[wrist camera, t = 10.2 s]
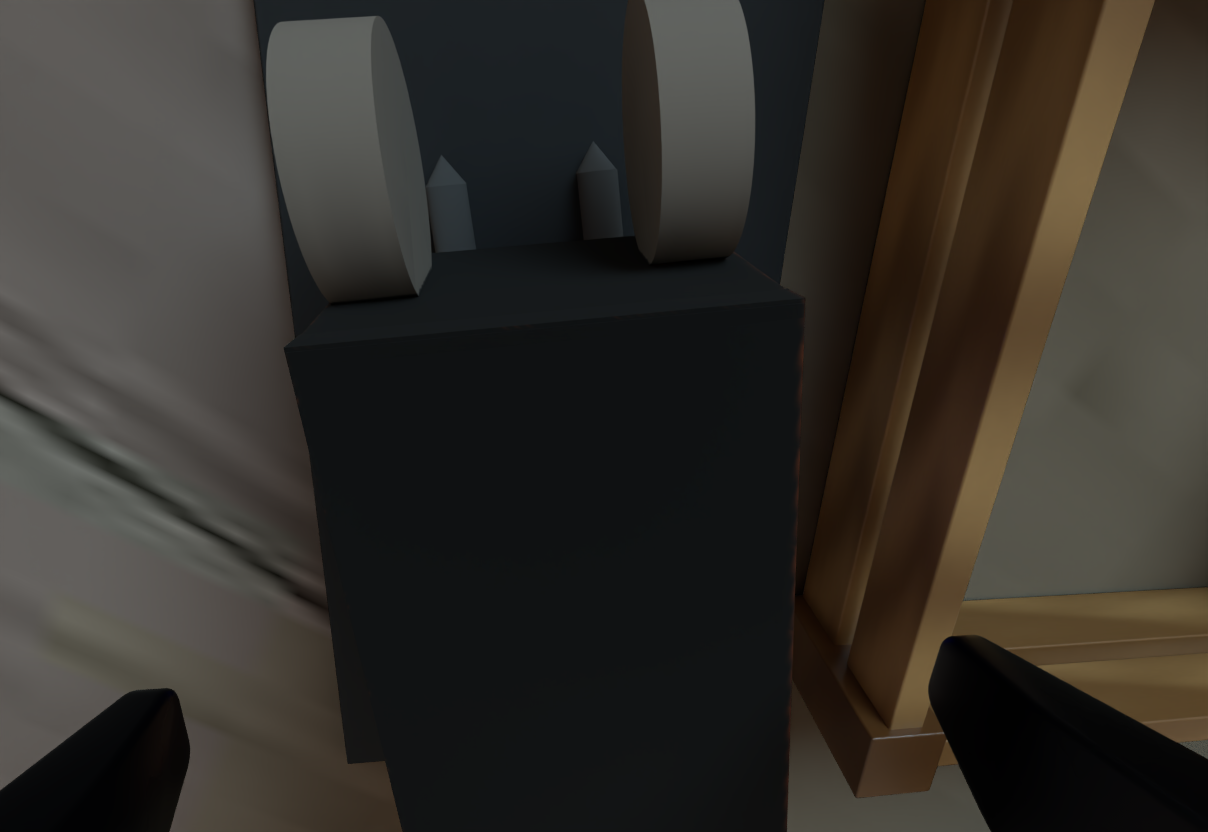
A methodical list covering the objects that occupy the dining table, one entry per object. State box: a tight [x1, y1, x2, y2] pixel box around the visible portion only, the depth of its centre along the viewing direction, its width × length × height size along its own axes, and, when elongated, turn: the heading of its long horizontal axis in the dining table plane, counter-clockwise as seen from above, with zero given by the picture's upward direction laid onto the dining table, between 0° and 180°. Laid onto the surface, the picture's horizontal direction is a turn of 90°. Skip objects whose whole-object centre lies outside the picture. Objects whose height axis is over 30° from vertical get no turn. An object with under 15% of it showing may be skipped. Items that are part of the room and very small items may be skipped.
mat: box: [254, 0, 824, 764], centre depth 16 cm, size 20×10×1 cm, turn 177°
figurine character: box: [266, 0, 805, 832], centre depth 12 cm, size 7×8×15 cm
